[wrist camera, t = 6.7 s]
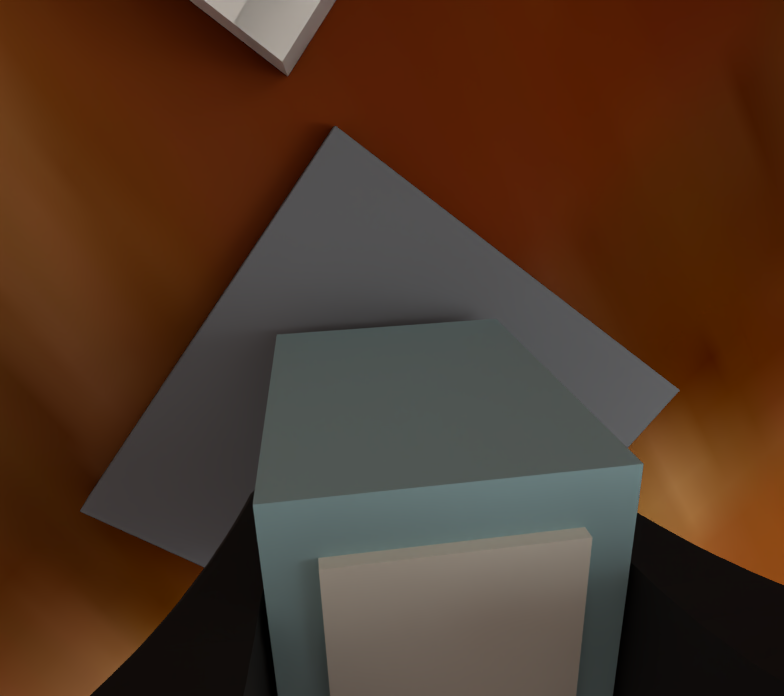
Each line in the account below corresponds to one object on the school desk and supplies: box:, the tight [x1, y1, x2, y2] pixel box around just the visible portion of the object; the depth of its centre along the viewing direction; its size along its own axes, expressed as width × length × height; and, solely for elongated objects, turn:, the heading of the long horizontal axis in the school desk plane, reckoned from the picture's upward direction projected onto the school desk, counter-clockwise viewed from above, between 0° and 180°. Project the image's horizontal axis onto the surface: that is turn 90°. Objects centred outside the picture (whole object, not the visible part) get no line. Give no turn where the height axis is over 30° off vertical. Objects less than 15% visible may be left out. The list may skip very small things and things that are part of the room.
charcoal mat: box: [80, 126, 679, 567], centre depth 14 cm, size 10×10×1 cm
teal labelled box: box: [253, 319, 643, 696], centre depth 10 cm, size 4×6×6 cm
